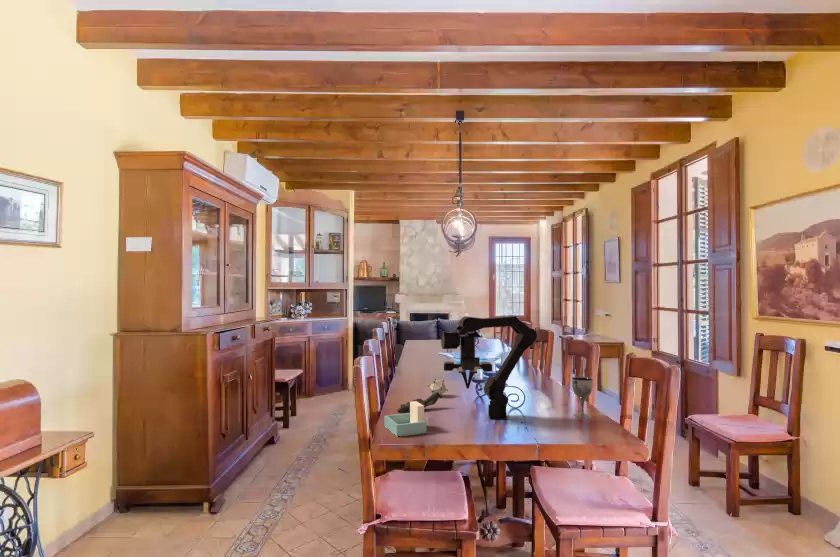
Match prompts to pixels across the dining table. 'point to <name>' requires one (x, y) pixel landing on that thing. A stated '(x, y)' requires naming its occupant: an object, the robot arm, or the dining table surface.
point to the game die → (437, 387)
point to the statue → (421, 402)
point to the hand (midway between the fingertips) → (467, 388)
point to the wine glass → (582, 392)
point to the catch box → (404, 425)
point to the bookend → (416, 412)
